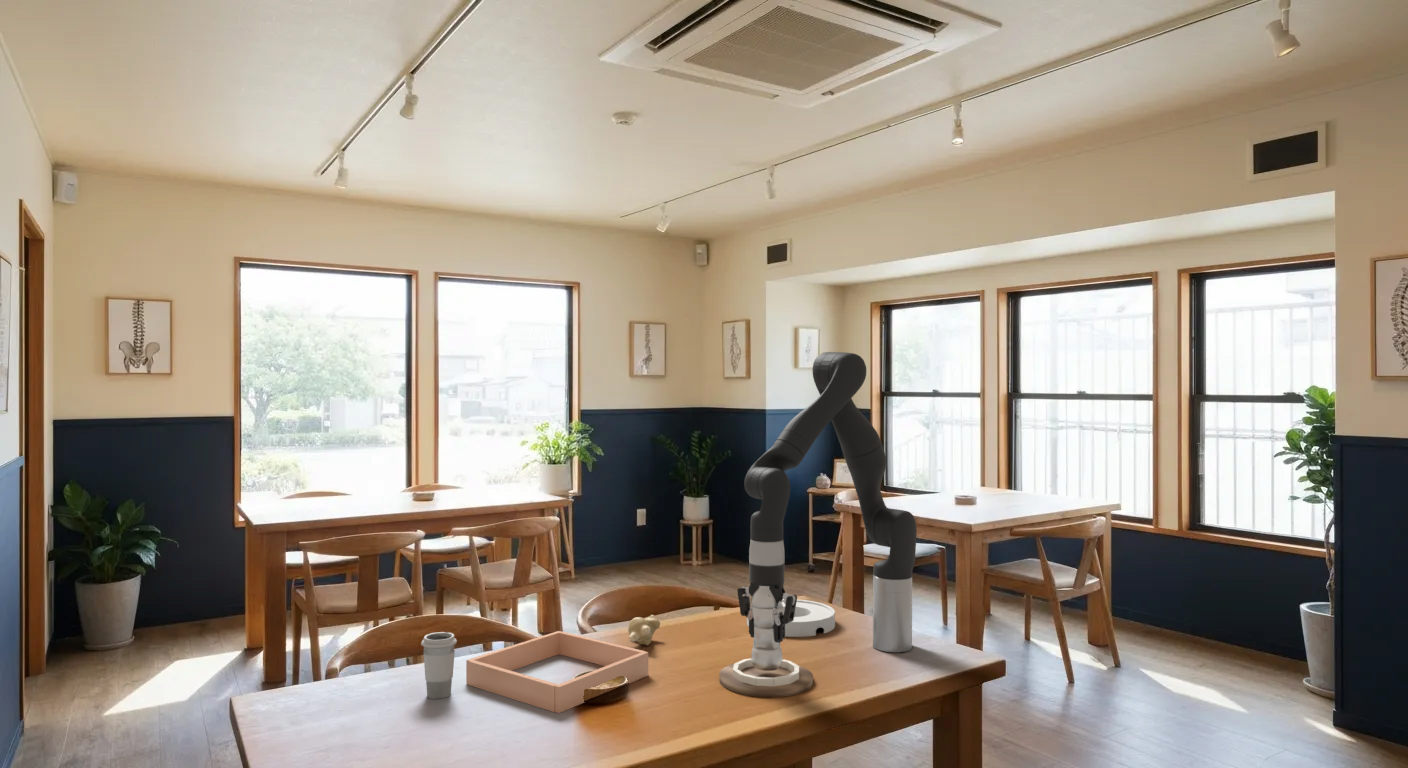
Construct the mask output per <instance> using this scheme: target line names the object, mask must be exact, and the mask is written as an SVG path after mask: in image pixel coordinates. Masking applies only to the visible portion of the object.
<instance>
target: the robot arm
mask: <svg viewBox="0 0 1408 768" xmlns="http://www.w3.org/2000/svg"><path fill="white" fill-rule="evenodd" d="M866 377H867V366H866V362H865V360H864V358H862V357H861V356H860V355H859V354H856V353H853V352H846V351H845V352H842V351H841V352H840V351H827V352H826V351H825V352H822V353H820V354H818V355H817V356H816V357H815V359H814V361H813V364H812V378H813V381H814V385H815V387H816V389H817V391H818V393H819V396H818V397H817V398H816V399H815V400H814V401H813V402H812V403H811V404H809V405H808V406H807V407H804V409H802V410H801V411H800V412H798V414H797V415H794V417H793V418H792V419H791V420H790V421H788V423H787V424H786V426H785V427H784V428H783V429H782V431H781V432H780V434H779V435H778V437H777V439H776V441H774V443H773V445H772V446H771V447H770V448H769V449H768V450H766V451H765V452H764V453H763V454H762V455H761V456H760V457H759V458H758V459H757V460H756V461H754V463H753V464H752V465H751V466H750V468H748V470H747V472H746V475H745V477H744V486H743V487H744V491H745V492H746V493H747V494H748V496H749V497H751V498H753V499H757V500H761V505H760V506H761V507H760V510H758V511H755V512H753V514H751V517H750V537H749V538H750V543H749V549H748V553H749V555H748V560H749V562H748V563H749V566H748V571H749V572H748V579H749V582H750V583H749V586H746V585H744V586H741V587H739V588H737V598H738V604H739V606H738V607H739V611H740V615H741V617H746V619H747V618H748V619H749V627H748V633H749V635H750V637H751V638H752V639H754V620H753V612H752V605H751V599H750V596H751V598H752V596H753V594H754V593H755V591H756V590H757V589H758V588H759V586H770V587H769V589H770V591H771V593H772V594H773V596H774V598H775V600H776V602H777V603H779V601H782V599H784V604H785V611H784V608H783V605H782V606H781V609H780V610H776V608H773V615H775V618H774V620H775V623H776V625H775V642H777V643H780V644H781V642H783V641H784V640H785V637H786V636H785V624H787V623H789V622H792V621H793V620H794V614H795V608H796V602H797V600H798V596H797V594H795V593H793V594H790V593H787V592H786V590H785V587H784V583H785V544H784V520H785V516H786V512H787V508H788V504H789V499H790V496H791V495H790V494H791V482H790V479H789V477H788V475H787V473H786V472H785V471H787V470H791V469H794V468H797V467H798V466H799V465H800V464H801V462H802V461H803V459H804V458H805V457H806V455H807V454H808V452H809V451H810V449H811V448H812V445H813V444H814V443H815V441H816V440H817V438H818V437H819V436H820V434H821V433H822V431H824V429H825V428H826V427H827V425H829V423H830V422H831V423H832V425H833V428H834V431H835V433H836V436H837V438H838V442H839V444H840V448H841V452H842V453H843V457H844V460H845V463H846V465H847V469H848V471H849V474H850V477H851V480H852V482H853V486H854V489H855V492H856V495H857V499H858V503H859V508H860V511H861V515H862V520H863V524H864V529H865V532H866V534H867V536H868V539H869V540H870V541H871V542H872V544H875V545H877V546H881V547H886V548H889V555H888V557H887V558H886V559H882V560H878V561H876V562H874V563H873V568H872V571H873V572H872V573H873V574H872V587H873V588H872V595H873V596H872V647H873V648H875V649H876V650H879V651H882V652H886V653H905V652H909V651H911V650H912V649H913V569H914V567H915V562H916V550H917V549H916V548H917V534H918V533H917V531H918V530H917V522H916V518H915V516H914V515H913V513H911V512H910V511H908V510H904V509H903V510H902V509H897V508H889V507H887V505H886V503H885V501H884V498H883V494H882V491H881V486H882V485H881V484H882V482H883V481H882V480H883V478H884V475H885V472H886V468H887V456H886V452H885V449H884V447H883V443H882V441H881V438H880V436H879V433H878V432H877V430H876V429H875V427H874V426H873V425H872V423H871V422H870V421H869V420H868V419H867V418H866V416H865V415H864V414H863V413H862V412H861V411H860V410H859V408H858V406H856V404H855V403H854V400H853V399H852V398H853V397H854V396H855V395H856V394H857V392H858V391H859V390H860V389H861V387H862V386H863V384H864V383H865V380H866ZM767 595H768V594H767ZM768 596H769V595H768ZM769 597H770V596H769ZM750 605H751V606H750ZM779 613H780V616H779Z"/></svg>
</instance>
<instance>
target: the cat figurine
mask: <svg viewBox="0 0 1408 768" xmlns="http://www.w3.org/2000/svg"><path fill="white" fill-rule="evenodd" d="M660 626H661V622H660V619H658V618H657V617H656V615H654V614H650V615H649V616H647V617H645V618H643V617H641V616H636V617H634V618H632V619H631V620H630V621H629V623H628V629H627V630H628V631H627V632H628V641H630V642H637V643H638V644H639V645H644V646H649V645H651V642H652V639H653V635H654V633H655V632H656V630H658V629H660Z"/></svg>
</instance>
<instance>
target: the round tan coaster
mask: <svg viewBox="0 0 1408 768" xmlns="http://www.w3.org/2000/svg"><path fill="white" fill-rule="evenodd" d="M735 663H736V662H735ZM735 663H731V664H728V665H726V666H725V667H723V668H722V669H720V671H719V678H718V679H719V683H720V685H721V686H722V687H724V688H725V689H727V690H729V691H731V692H734V693H735V694H740V695H745V696H750V697H757V696H758V698H779V697H780V698H781V697H782V698H783V697H789V696H795V695H799V694H802V693H804V692H806V691H808V690H810V689H811V688H812V686H813V684H814V674H813V673H812V672H811V671H810V670H809V669H808V668H806V667H804V666H802V665H799V664H797V665H798V666H799V679H798V680H796V681H794V682H793V683H791V684H786V685H780V686H755V685H751V684H747V683H743V682H740V681H739V680H737V679H736V678H734V677H733V667H734V664H735ZM740 671H741V672H743V673H744V674H747V675H752V676H756V677H779V676H786V675H788V674H790V673H792V672H791V671H790V670H788V669H785V668H781V667H780V668H779V669H777V670H773V671H763V670H758V669H756V668H755V667H754V666H753V667H747V668H744V669H742V670H740Z"/></svg>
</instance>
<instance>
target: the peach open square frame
mask: <svg viewBox="0 0 1408 768" xmlns="http://www.w3.org/2000/svg"><path fill="white" fill-rule="evenodd" d="M557 655H561V656H565V657H568V658H572V659H576V660H581V661H584V662H587V663H592V664H596V665H600V666H603V667H600V668H598V669H595V670H592V671H590V672H587V673H585V674H582V675H580V676H577V677H574V678H571V679H569V680H567V681H564V682H561V683H559V684H558V683H555V682H551V681H548V680H545V679H544V680H543V679H540V678H538V677H534V676H531V675H526V674H524V673H519V672H517V671H514V670H518V669H520V668H523V667H526V666H528V665H531V664H534V663H537V662H540V661H543V660H546V659H548V658H552V657H555V656H557ZM465 666H466V667H465V668H466V671H465V672H466V679H465V681H466V683H465V684H466V685H469V686H471V687H474V688H477V689H479V690H480V689H481V690H483V691H486V692H489V693H493V694H496V695H499V696H502V697H504V698H509V699H512V700H515V701H518V702H522V703H524V704H528V705H530V706H534V707H537V708H540V709H544V710H547V711H550V712H553V713H558V714H560V713H563V712H565V711H567V710H569V709H572V708H574V707H578V706H579V705H582V704H584V703H585V702H584V699H583V698H584V697H583V696H584V690H585V689H587V688H591V687H596V686H598V685H600V684H602V683H605V682H607V681H609V680H612V679H615V678H616V677H619V676H624V677H626V678H627V680H628V683H629V684H631V683H634V682H636V681H639V680H641V679H643V678H645V677H647V676H649V652H648V651H645V650H641V649H637V648H633V647H629V646H625V645H620V644H617V643H611V642H608V641H603V640H601V639H600V640H599V639H595V638H591V637H587V636H582V635H579V634H575V633H569V632H567V631H561V630H557V631H554V632H551V633H548V634H544V635H542V636H538V637H535V638H532V639H529V640H526V641H522V642H519V643H516V644H512V645H510V646H506V647H503V648H501V649H497V650H494V651H491V652H488V653H486V654H481V655H477V656H476V657H472V658H469V659H466V665H465Z"/></svg>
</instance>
